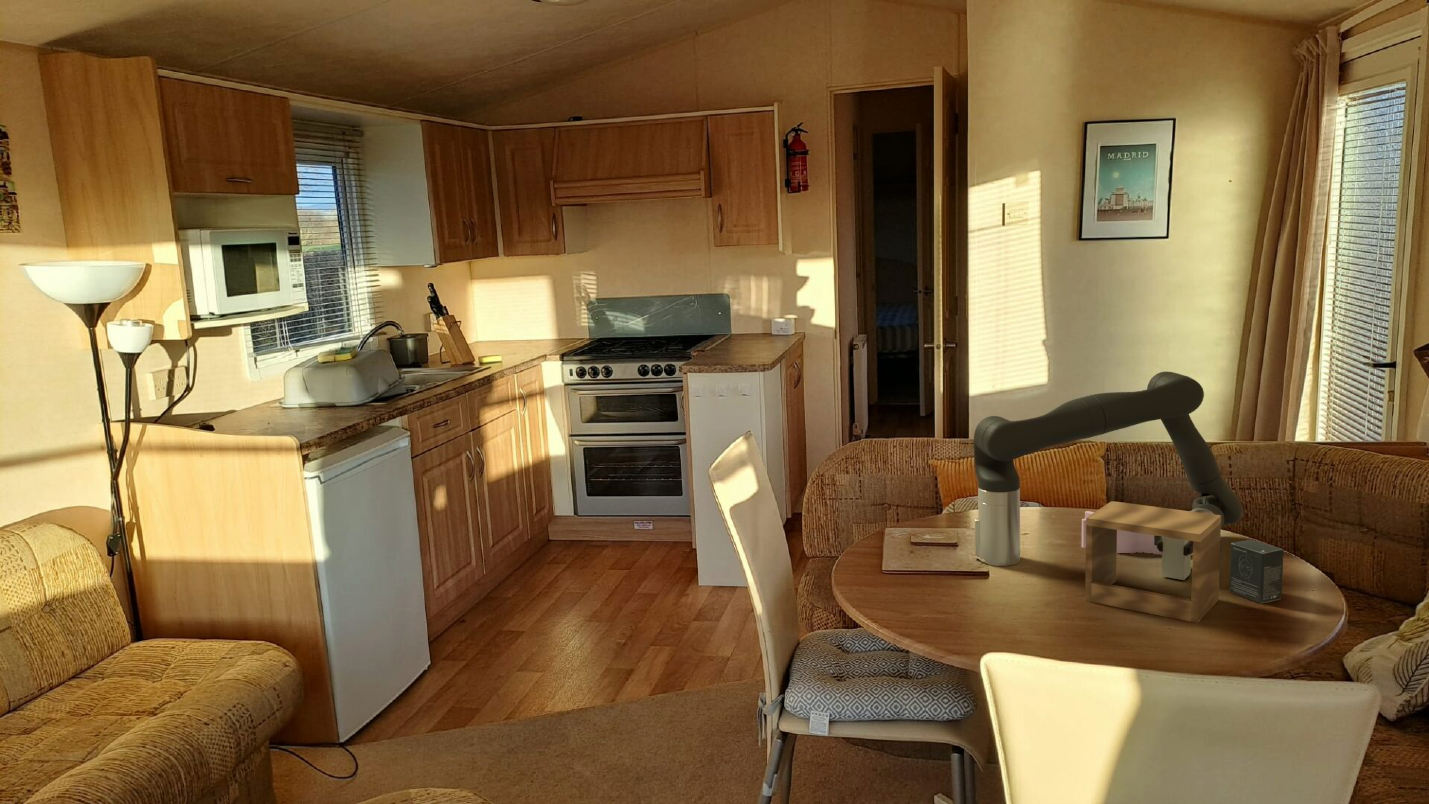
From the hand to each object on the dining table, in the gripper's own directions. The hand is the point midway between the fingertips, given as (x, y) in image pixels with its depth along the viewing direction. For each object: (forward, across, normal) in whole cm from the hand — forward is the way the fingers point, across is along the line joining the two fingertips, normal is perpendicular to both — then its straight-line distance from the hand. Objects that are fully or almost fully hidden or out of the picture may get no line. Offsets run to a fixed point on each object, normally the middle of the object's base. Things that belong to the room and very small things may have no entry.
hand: (1172, 549), depth 214 cm
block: (-3, 0, +6) cm, 7 cm away
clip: (-18, -15, +7) cm, 25 cm away
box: (0, +16, +7) cm, 18 cm away
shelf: (+14, 0, +7) cm, 15 cm away
